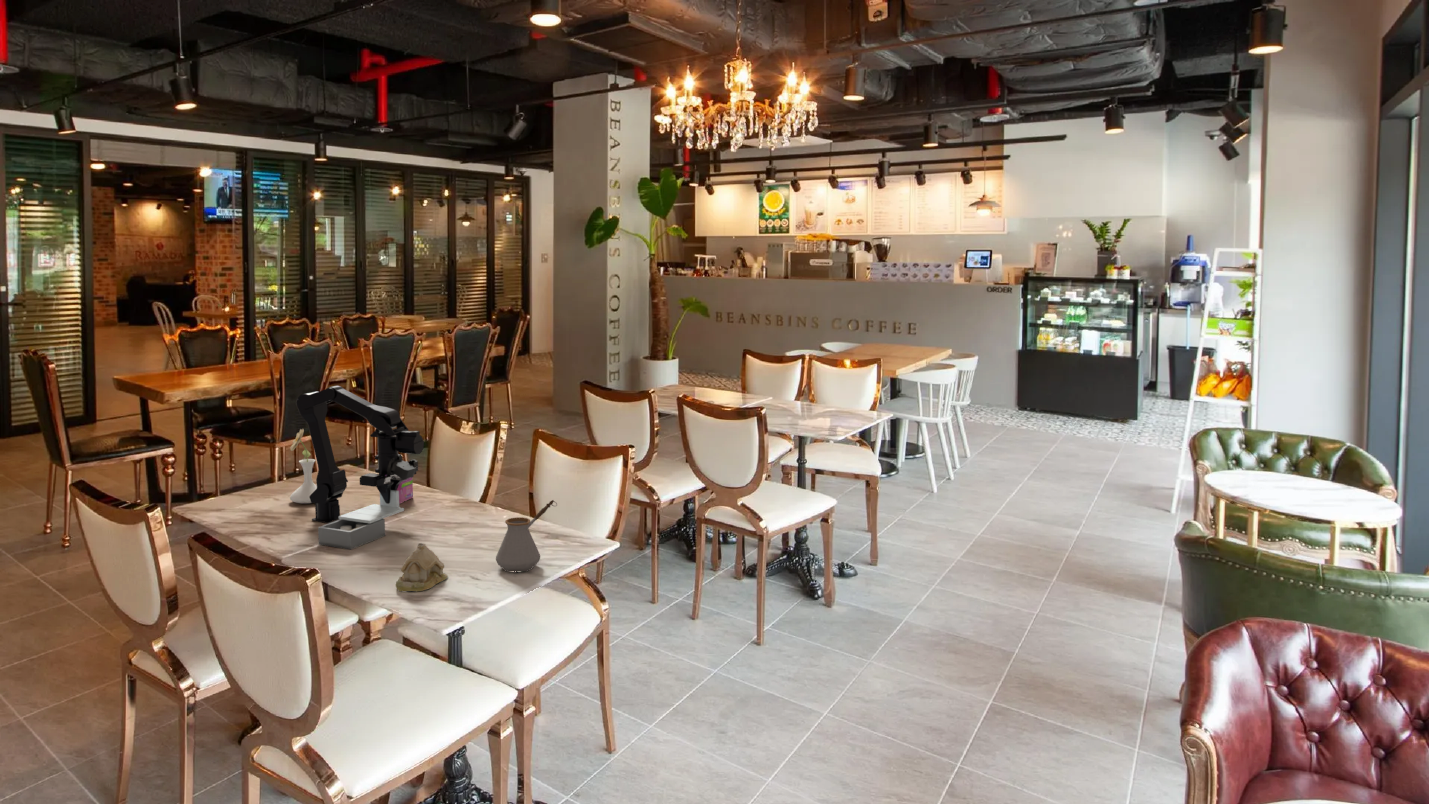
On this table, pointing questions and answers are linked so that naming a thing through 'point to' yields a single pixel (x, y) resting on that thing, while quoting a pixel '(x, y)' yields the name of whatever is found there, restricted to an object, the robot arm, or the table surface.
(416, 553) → the ceramic model
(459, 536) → the table surface
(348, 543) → the tub
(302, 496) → the flower in vase
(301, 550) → the table surface
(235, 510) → the table surface
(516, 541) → the coffee pot
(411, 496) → the box
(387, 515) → the lid
